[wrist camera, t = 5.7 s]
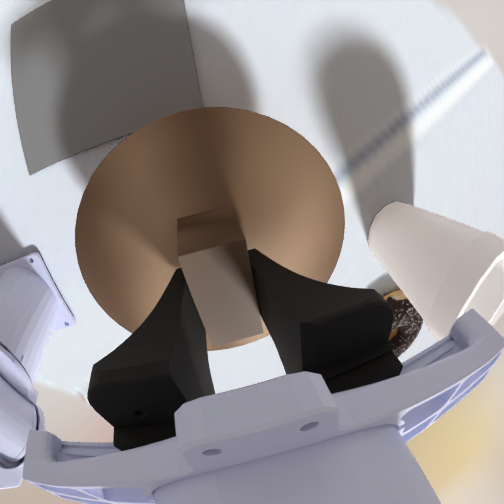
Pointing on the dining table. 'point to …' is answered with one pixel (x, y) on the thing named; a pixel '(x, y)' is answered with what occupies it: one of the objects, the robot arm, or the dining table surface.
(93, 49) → the mat
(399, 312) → the donut
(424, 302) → the foam cup
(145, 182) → the lid
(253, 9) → the dining table surface
